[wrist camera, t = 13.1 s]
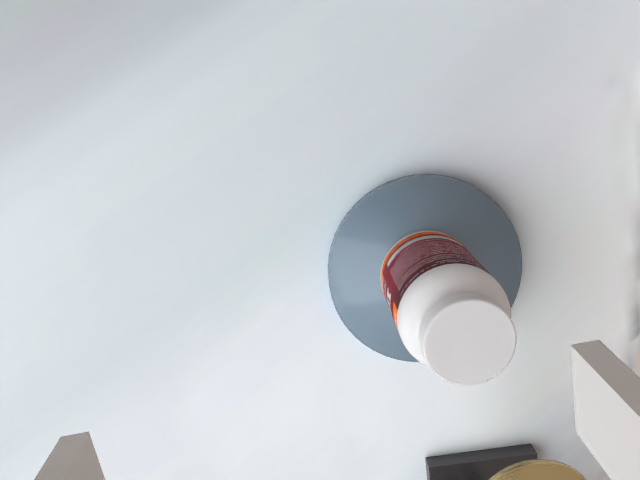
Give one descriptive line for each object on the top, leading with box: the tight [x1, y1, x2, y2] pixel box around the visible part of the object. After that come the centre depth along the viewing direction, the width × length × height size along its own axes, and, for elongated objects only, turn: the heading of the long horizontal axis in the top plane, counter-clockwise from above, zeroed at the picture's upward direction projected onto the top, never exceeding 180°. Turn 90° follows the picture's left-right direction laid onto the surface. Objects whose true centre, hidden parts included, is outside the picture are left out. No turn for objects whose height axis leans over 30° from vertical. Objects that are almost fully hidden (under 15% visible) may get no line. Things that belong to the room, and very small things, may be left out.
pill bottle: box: [380, 230, 516, 385], centre depth 35 cm, size 6×6×11 cm
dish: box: [328, 174, 522, 362], centre depth 41 cm, size 13×13×1 cm
